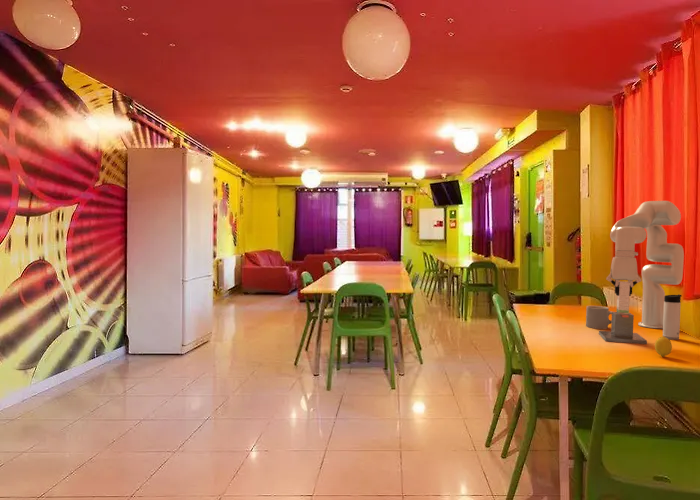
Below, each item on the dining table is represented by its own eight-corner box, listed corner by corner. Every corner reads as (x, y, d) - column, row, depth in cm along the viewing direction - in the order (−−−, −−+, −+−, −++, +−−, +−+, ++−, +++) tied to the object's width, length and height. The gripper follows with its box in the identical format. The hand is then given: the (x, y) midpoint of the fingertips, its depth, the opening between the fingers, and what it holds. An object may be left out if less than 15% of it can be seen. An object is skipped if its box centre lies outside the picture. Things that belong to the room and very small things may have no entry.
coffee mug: (585, 327, 246) (585, 307, 246) (586, 324, 255) (587, 305, 255) (615, 330, 240) (616, 310, 239) (616, 327, 248) (616, 307, 248)
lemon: (651, 355, 193) (651, 334, 192) (664, 354, 193) (665, 334, 193) (661, 358, 187) (662, 338, 187) (675, 358, 188) (675, 337, 187)
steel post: (616, 320, 224) (617, 281, 223) (626, 321, 222) (627, 281, 222) (618, 322, 220) (619, 282, 219) (628, 323, 218) (629, 282, 218)
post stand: (598, 333, 231) (599, 309, 231) (637, 336, 227) (637, 311, 226) (605, 341, 216) (606, 315, 216) (646, 344, 211) (647, 317, 211)
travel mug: (682, 340, 220) (684, 295, 219) (666, 339, 221) (667, 295, 220) (676, 337, 226) (677, 293, 225) (660, 336, 227) (662, 293, 226)
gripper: (643, 254, 221) (642, 295, 222) (602, 253, 226) (600, 293, 227) (648, 255, 214) (646, 297, 214) (605, 254, 219) (604, 295, 219)
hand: (623, 295), depth 220 cm, fingers closed on steel post, 4 cm apart
